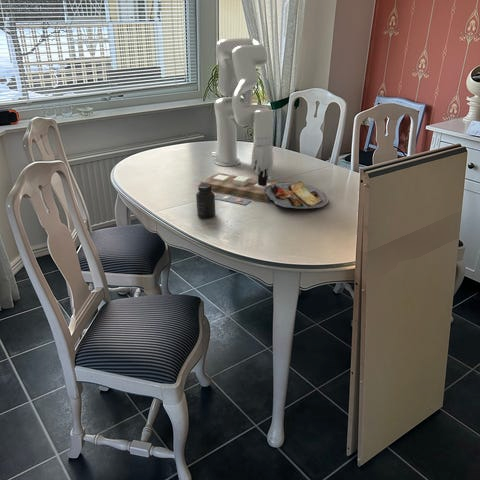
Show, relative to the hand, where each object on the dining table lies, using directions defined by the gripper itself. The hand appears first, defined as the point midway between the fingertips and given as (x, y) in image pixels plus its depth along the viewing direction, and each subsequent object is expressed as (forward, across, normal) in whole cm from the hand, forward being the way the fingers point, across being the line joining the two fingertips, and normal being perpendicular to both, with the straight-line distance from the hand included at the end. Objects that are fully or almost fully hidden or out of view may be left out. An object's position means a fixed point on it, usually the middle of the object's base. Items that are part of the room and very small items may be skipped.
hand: (262, 184), depth 193 cm
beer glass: (+4, -17, -7) cm, 19 cm away
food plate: (+3, +1, +15) cm, 16 cm away
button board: (+4, 0, -10) cm, 11 cm away
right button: (+3, 0, 0) cm, 3 cm away
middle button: (+2, 0, -10) cm, 10 cm away
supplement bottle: (+4, +30, -8) cm, 31 cm away
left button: (+3, 0, -20) cm, 20 cm away
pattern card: (+4, +12, -10) cm, 16 cm away
